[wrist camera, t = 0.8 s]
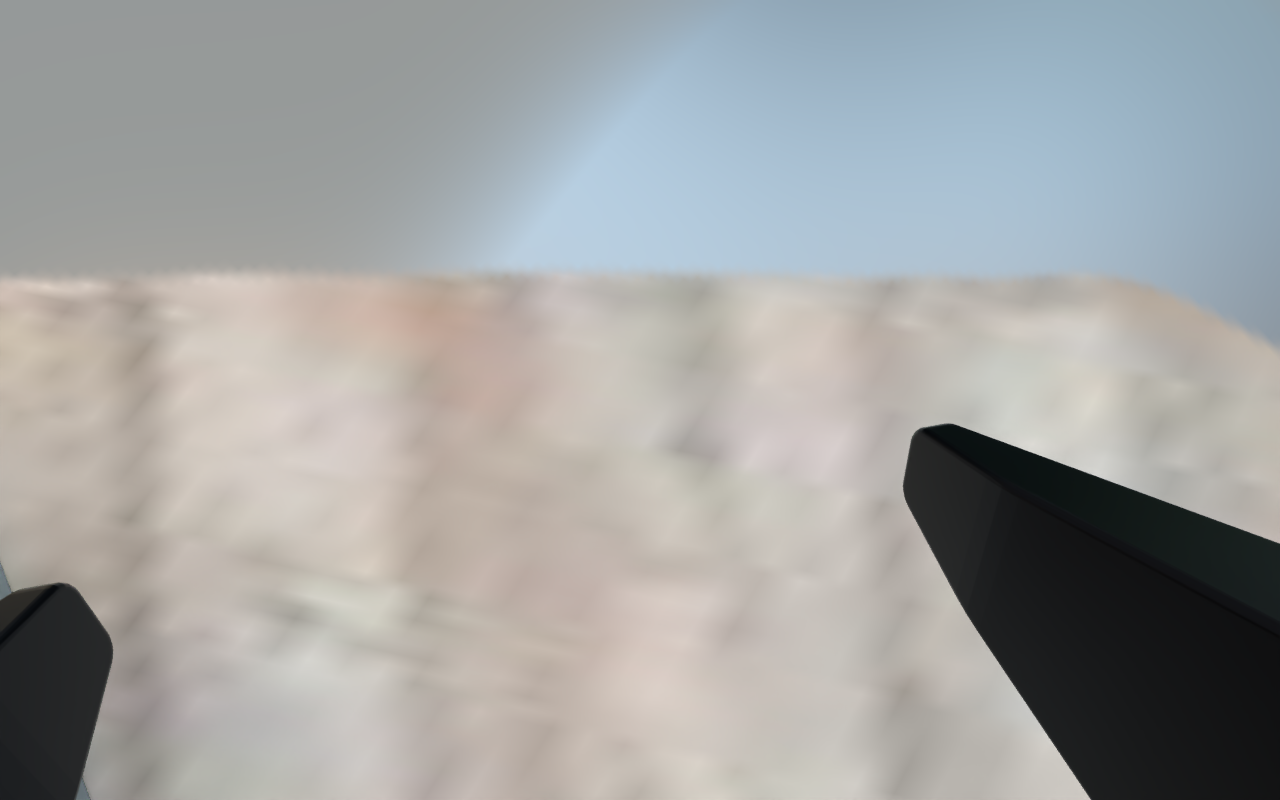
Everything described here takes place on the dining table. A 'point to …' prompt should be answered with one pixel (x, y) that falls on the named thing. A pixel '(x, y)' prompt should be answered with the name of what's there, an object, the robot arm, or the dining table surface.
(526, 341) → the dining table surface
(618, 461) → the dining table surface
